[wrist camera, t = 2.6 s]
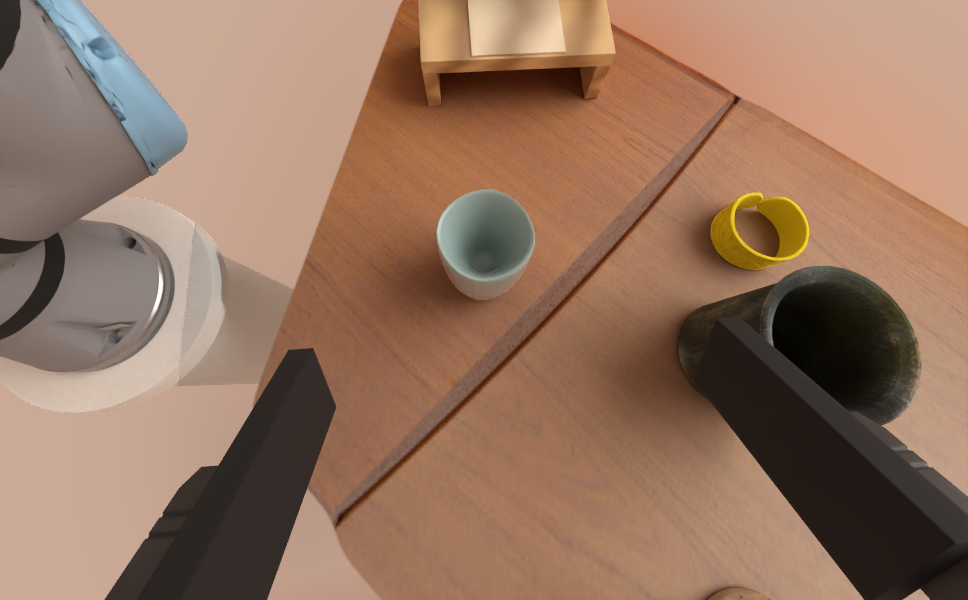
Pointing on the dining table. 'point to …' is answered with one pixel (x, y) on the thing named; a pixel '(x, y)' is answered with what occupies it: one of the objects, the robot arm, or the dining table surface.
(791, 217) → the bracelet
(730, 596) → the candle holder
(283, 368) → the robot arm
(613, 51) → the shelf
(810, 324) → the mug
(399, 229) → the dining table surface
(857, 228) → the dining table surface
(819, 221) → the dining table surface
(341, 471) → the dining table surface
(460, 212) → the cup
